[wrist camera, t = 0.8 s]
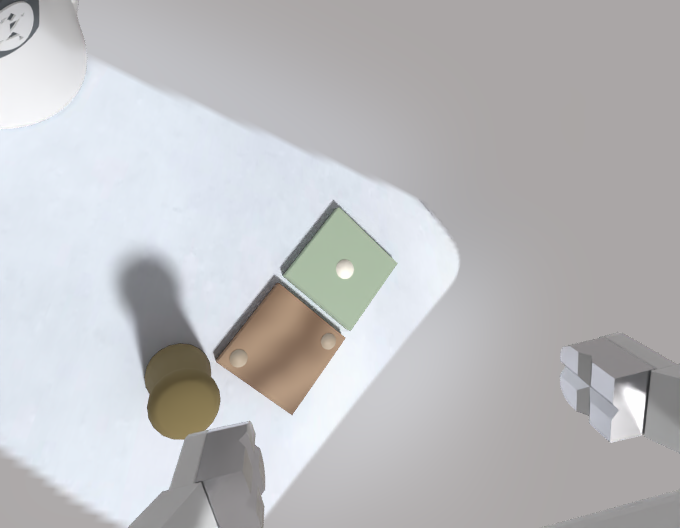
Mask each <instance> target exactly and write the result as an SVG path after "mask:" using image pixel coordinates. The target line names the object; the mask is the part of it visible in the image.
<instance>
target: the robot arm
mask: <svg viewBox="0 0 680 528" xmlns="http://www.w3.org/2000/svg"><path fill="white" fill-rule="evenodd" d="M78 3H79V0H0V129H11V128H19V127H25V126H29V125H33V124H36V123H39V122H41V121H44V120H46V119H48V118H50V117H52V116H54V115H55V114H57V113H58V112H60V111H61V110H62V109H64V108H65V107H66V106H67V105H68V104H69V103H70V102H71V101H72V100H73V99H74V97H75V96H76V95H77V93H78V91H79V90H80V88H81V86H82V83H83V81H84V78H85V74H86V69H87V51H86V44H85V40H84V37H83V34H82V31H81V28H80V25H79V22H78V17H77V10H78ZM560 361H561V362H562V363H563V364H564V365H565V366H566V367H565V368H564V370H563V371H562V373H561V375H560V387H561V389H562V392H563V395H564V397H565V399H566V400H567V401H568V403H569V404H570V405H571V406H572V407H573V408H574V409H575V410H576V411H577V412H580V413H583V414H586V415H588V416H589V423H590V424H591V425H592V426H593V427H594V428H595V429H596V430H597V431H598V432H599V433H600V434H601V435H602V436H604V437H605V438H606V439H607V440H608V441H609V442H610V443H611V442H615V441H620V440H624V439H628V438H633V437H637V436H642V435H644V437H646V438H648V439H650V440H652V441H654V442H656V443H659V444H661V445H663V446H665V447H667V448H669V449H671V450H674V451H676V452H678V453H680V364H676V363H674V362H672V361H671V360H669V359H667V358H665V357H664V356H662V355H660V354H659V353H657V352H655V351H653V350H652V349H650V348H648V347H647V346H645V345H643V344H641V343H640V342H638V341H636V340H634V339H633V338H631V337H629V336H628V335H626V334H623V333H618V332H617V333H613V334H609V335H606V336H602V337H599V338H597V339H593V340H589V341H585V342H580V343H577V344H572V345H568V346H564V347H563V348H562V350H561V355H560ZM264 490H265V471H264V463H263V458H262V454H261V451H260V448H259V447H257V446H256V445H255V431H254V428H253V425H252V423H251V422H250V421H247V422H242V423H237V424H233V425H228V426H223V427H219V428H214V429H210V430H205V431H201V432H197V433H192V434H189V435H188V436H187V437H186V438H185V440H184V443H183V446H182V449H181V453H180V456H179V459H178V462H177V465H176V469H175V472H174V475H173V478H172V481H171V485H170V488H169V490H167V491H163V492H161V494H160V495H159V496H158V497H157V498H156V499H155V500H154V501H153V502H152V503H151V504H150V505H149V506H148V507H147V508H146V509H145V510H144V511H143V512H142V513H141V514H140V515H139V516H138V517H137V518H136V520H135V521H134V522H133V523H132V524H131V525H130V526H129V527H128V528H263V523H264V504H263V501H262V497H261V495H262V493H263V492H264ZM542 528H680V490H676V491H673V492H669V493H666V494H662V495H658V496H654V497H651V498H647V499H644V500H640V501H636V502H632V503H629V504H625V505H622V506H618V507H614V508H611V509H607V510H603V511H599V512H596V513H592V514H589V515H585V516H581V517H578V518H574V519H570V520H567V521H563V522H560V523H556V524H552V525H549V526H545V527H542Z"/></svg>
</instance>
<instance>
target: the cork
mask: <svg viewBox="0 0 680 528" xmlns="http://www.w3.org/2000/svg"><path fill="white" fill-rule="evenodd" d="M144 378H145V385H146V388H147V390H148V392H149V394H150V395H149V400H148V405H147V410H148V418H149V420H150V422H151V424H152V426H153V427H154V428H155V429H156V430H157V431H158V432H159V433H160V434H162V435H163V436H165V437H168V438H171V439H185V438H186V437H187V436H188V435H189V434H192V433H197V432H201V431H205V430H206V429H207V428H208V427H209V426H210V425H211V424H212V422H213V421H214V419H215V417H216V415H217V413H218V410H219V405H220V393H219V389H218V387H217V385H216V383H215V381H214V379H212V378H211V367H210V362H209V360H208V358H207V356H206V355H205V354H204V353H203V352H202V351H201V350H200V349H199V348H197V347H195V346H192V345H190V344H181V343H180V344H174V345H169V346H167V347H165V348H163V349H161V350H160V351H159V352H158V353H156V354H155V355H154V356H153V357H152V359H151V360H150V362H149V364H148V365H147V367H146V372H145V377H144Z"/></svg>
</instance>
